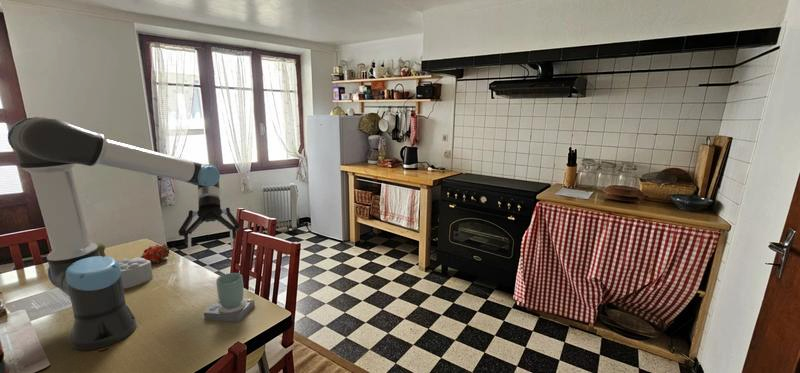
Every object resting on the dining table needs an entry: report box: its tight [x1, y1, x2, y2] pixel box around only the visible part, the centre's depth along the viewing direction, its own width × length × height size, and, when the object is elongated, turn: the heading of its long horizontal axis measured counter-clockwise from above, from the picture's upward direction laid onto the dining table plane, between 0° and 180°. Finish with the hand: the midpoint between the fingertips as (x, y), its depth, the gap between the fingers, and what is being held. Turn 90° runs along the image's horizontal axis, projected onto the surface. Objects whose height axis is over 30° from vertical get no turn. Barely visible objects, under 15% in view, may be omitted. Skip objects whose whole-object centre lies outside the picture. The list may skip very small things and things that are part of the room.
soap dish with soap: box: [203, 297, 255, 323], centre depth 115 cm, size 10×12×3 cm
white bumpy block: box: [118, 256, 154, 290], centre depth 134 cm, size 10×13×9 cm
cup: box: [215, 272, 245, 308], centre depth 114 cm, size 8×8×10 cm
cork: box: [96, 242, 107, 257], centre depth 144 cm, size 6×6×11 cm
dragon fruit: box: [140, 244, 171, 264], centre depth 152 cm, size 8×8×12 cm
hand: (211, 249), depth 123 cm, fingers open, 13 cm apart
